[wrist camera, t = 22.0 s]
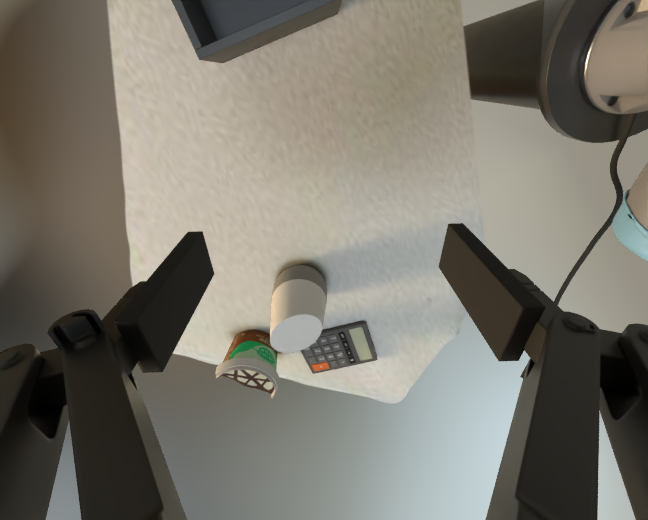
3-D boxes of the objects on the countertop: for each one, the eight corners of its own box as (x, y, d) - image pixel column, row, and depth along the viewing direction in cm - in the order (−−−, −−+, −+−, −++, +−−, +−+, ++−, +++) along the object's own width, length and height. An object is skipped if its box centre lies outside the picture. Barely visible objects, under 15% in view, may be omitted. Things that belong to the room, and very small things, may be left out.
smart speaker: (316, 306, 56) (315, 367, 44) (269, 293, 54) (256, 354, 42) (333, 267, 51) (338, 325, 39) (283, 252, 49) (272, 308, 37)
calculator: (294, 340, 59) (366, 323, 57) (295, 337, 60) (365, 320, 58) (312, 374, 65) (377, 360, 63) (312, 370, 66) (377, 357, 64)
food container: (294, 340, 61) (290, 383, 52) (279, 356, 63) (273, 399, 55) (241, 316, 57) (228, 358, 48) (227, 334, 60) (212, 377, 51)
